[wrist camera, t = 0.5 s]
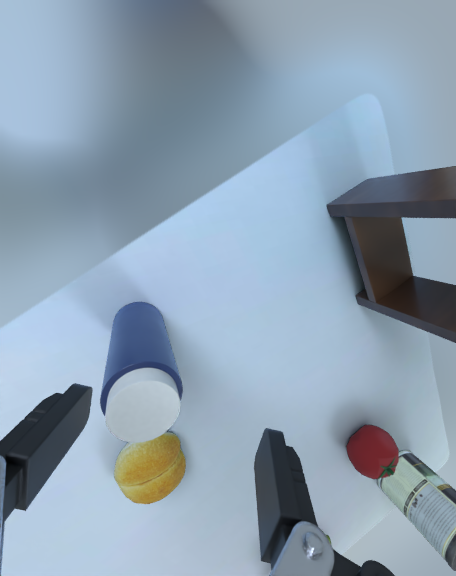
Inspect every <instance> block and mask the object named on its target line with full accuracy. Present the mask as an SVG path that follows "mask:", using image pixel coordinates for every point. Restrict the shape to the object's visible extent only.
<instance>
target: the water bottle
mask: <svg viewBox="0 0 456 576" xmlns="http://www.w3.org/2000/svg"><path fill="white" fill-rule="evenodd" d="M182 392H183V387H182V382H181V379H180V375H179V372H178V368H177V365H176V362H175V358H174V355H173V352H172V348H171V345H170V341H169V338H168V335H167V331H166V328H165V324H164V321H163V318H162V315H161V313H160V312H159V310H158V309H157V308H156V307H154V306H153V305H151V304H148V303H145V302H135V303H131V304H128V305H126V306H124V307H123V308H122V309H120V310H119V311H118V313H117V314H116V316H115V318H114V322H113V327H112V333H111V339H110V345H109V351H108V357H107V363H106V368H105V374H104V380H103V386H102V392H101V399H100V404H101V409H102V412H103V414H104V416H105V422H106V426H107V428H108V430H109V431H110V432H111V434H112V435H114V436H115V437H116V438H118V439H120V440H122V441H125V442H132V443H139V442H146V441H149V440H152V439H155V438H157V437H159V436H161V435H162V434H164V433H165V432H166V431H167V430H169V429H170V428H171V427H172V425H173V424H174V423H175V421H176V420H177V418H178V415H179V412H180V401H181V397H182Z"/></svg>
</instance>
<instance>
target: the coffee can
mask: <svg viewBox="0 0 456 576" xmlns="http://www.w3.org/2000/svg"><path fill="white" fill-rule="evenodd" d="M378 486H379V488H380V489H381V490H382V491H383V492H384V493H385V494H386V495H387V496H388V497H389V499H390V500H391V501H392V502H393V503H394V504H395V505H396V506H397V507H398V508H399V509H400V511H401V512H402V513H403V514H404V515H405V516H406V517H407V518H408V519H409V521H410V522H411V523H412V524H413V525H414V526H415V527H416V528H417V530H418V531H419V532H420V533H421V534H422V535H423V536H424V537H425V538H426V539H427V541H428V542H429V543H430V544H431V545H432V546H433V547H434V548H435V549H436V551H438V553H439V554H440V555H441V556H442V557H443V558H444V559H445V560H446V562H448V565H449V566H450V567H451V568H452V569H453V570H454V571H456V491H455V489H453V488H452V487H451V486H450V485H449V484H447V483H446V482H445V481H444V480H443V479H442V478H440V477H439V476H438V475H437V474H436V473H435V472H433V471H432V470H431V469H430V468H429V467H428V466H426V465H425V464H424V463H423V462H422V461H421V460H419V459H418V458H417V457H416V456H415V455H414V454H413V453H412V452H411V451H408V450H404V451H400V452H399V462H398V464H397V466H396V469H395V473H394V475H391V476H390V477H389V476H388V477H386V478H380V479H378Z"/></svg>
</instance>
